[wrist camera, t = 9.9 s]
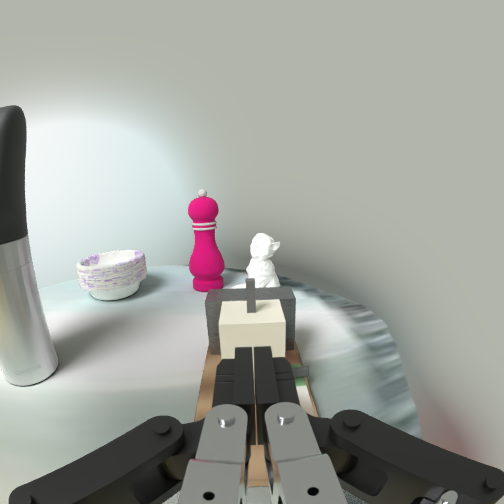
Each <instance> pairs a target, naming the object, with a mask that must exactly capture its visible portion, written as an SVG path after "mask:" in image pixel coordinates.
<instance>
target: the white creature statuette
mask: <svg viewBox="0 0 504 504" xmlns="http://www.w3.org/2000/svg"><path fill="white" fill-rule="evenodd" d="M250 247H251V254H252V257H253V258H252V259H251V261H250V264H249V266H248V268H247V269H246V271H247V273H248V275H249V276H248V278H255V288H263V287H280V284H279V279H278V278H277V275H276V273H275V272H274V265H273V263H272V262H271V260H270V259H268V258H269V257H271V256H272V255H273V254H274V251H276V250H277V249H278V248H279V247H280V242H275V241H274V240H273V238H272V237H270V236H268V235H266V234H264V233H262V234H261V233H259V234H257V236H255V237H254V239H253V240H252V244H251V245H250ZM236 288H246V283H243V284H238V285H235V286H233V287H232V288H230V289H236Z"/></svg>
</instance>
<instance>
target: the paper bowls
mask: <svg viewBox="0 0 504 504" xmlns="http://www.w3.org/2000/svg"><path fill="white" fill-rule="evenodd" d="M145 263H146V261H145V255H144V253H143V252H142V251H138V250H119V251H112V252H105V253H101V254H96V255H93V256H90V257H87V258H84V259H82V260H80V261H79V262H78V263H77V264H76V268H77V274H78V279H79V285H80V287H81V288H82V289H84V290H88V291H90V293H91V294H92V296H93V297H95V298H96V299H99V300H117V299H122V298H125V297H128V296H130V295H132V294H134V293H135V292H136V291H137V290H138V288H139V284H140V281H142V280H144V279H145V278H146V276H147V270H146V264H145Z"/></svg>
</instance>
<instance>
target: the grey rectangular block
mask: <svg viewBox="0 0 504 504" xmlns="http://www.w3.org/2000/svg"><path fill="white" fill-rule="evenodd" d="M255 297H256V300H273V299H279V300H280V304H281V307H282V311H283V314H284V318H285V321H286V337H285V351H289V350H294V339H295V305H296V298H295V296H294V294H293V291H292V289H291V287H290V286H284V287H263V288H255ZM222 301H246V288H236V289H209V291H208V294H207V297H206V300H205V307H206V317H207V327H208V336H209V345H210V354H211V355H221V347H220V337H219V326H218V324H219V318H220V312H221V306H222Z"/></svg>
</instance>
